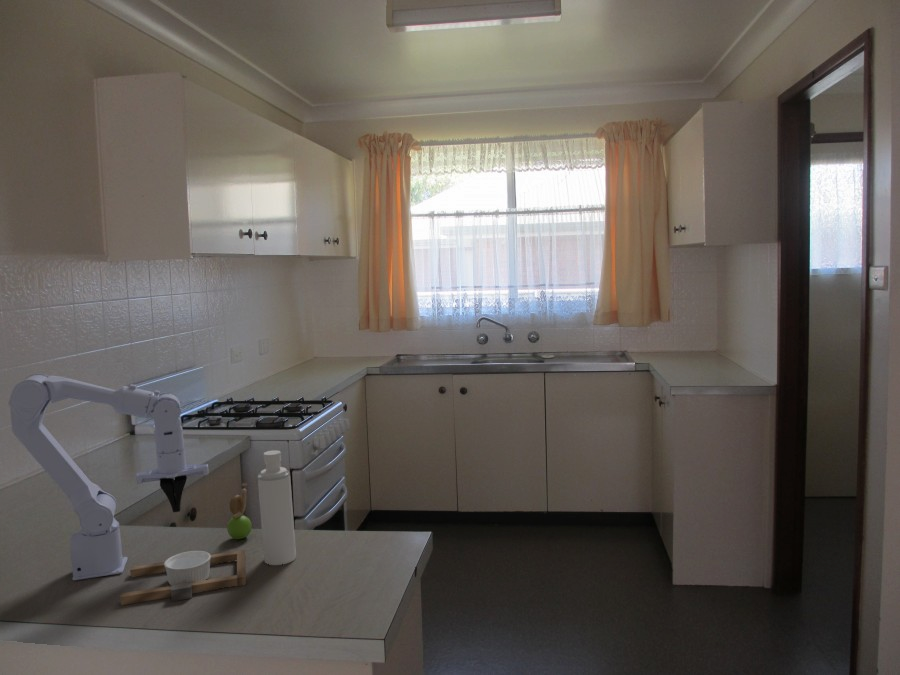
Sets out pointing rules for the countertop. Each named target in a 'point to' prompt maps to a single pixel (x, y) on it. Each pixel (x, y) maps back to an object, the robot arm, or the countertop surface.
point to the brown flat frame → (184, 588)
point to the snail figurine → (239, 517)
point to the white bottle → (276, 511)
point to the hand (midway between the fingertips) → (176, 510)
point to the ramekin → (188, 567)
